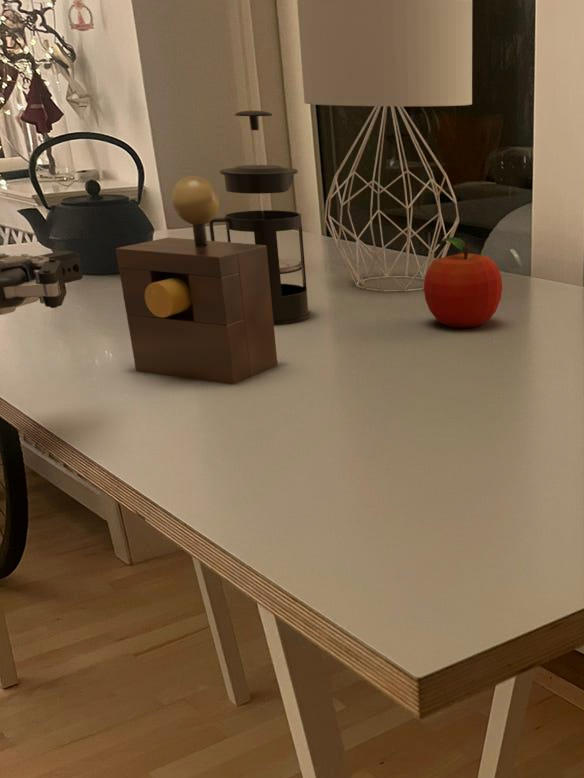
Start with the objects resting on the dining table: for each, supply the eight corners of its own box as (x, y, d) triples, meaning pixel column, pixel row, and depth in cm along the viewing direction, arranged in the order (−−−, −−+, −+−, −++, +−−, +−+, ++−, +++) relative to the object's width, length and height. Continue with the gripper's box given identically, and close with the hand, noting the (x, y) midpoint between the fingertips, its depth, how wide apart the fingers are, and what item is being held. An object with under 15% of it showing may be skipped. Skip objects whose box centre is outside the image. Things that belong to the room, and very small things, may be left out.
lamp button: (174, 319, 94) (169, 284, 93) (147, 316, 95) (141, 281, 94) (193, 313, 97) (189, 278, 95) (167, 310, 98) (162, 276, 96)
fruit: (475, 337, 116) (475, 246, 111) (409, 326, 121) (407, 239, 116) (516, 322, 123) (519, 236, 118) (453, 313, 128) (453, 230, 123)
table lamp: (325, 270, 153) (304, -41, 133) (469, 270, 154) (469, -39, 134) (309, 299, 134) (282, -60, 114) (474, 299, 135) (475, -57, 115)
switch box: (233, 385, 98) (210, 184, 89) (135, 372, 102) (103, 178, 93) (277, 366, 104) (260, 176, 95) (184, 354, 108) (158, 171, 99)
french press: (309, 307, 130) (294, 109, 118) (321, 323, 122) (306, 112, 110) (217, 312, 126) (193, 109, 115) (224, 329, 119) (198, 112, 107)
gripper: (-43, 255, 66) (130, 222, 80) (-182, 240, 70) (4, 211, 84) (-16, 367, 70) (144, 317, 84) (-149, 347, 74) (24, 302, 88)
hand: (74, 264), depth 84 cm, fingers closed
